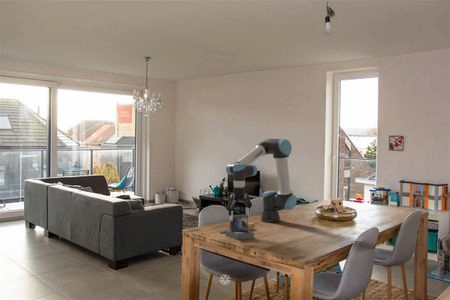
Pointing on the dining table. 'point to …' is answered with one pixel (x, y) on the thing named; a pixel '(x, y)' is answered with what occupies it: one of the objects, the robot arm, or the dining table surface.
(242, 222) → the small box
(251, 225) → the bar
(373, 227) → the dining table surface
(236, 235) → the tray
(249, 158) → the robot arm
